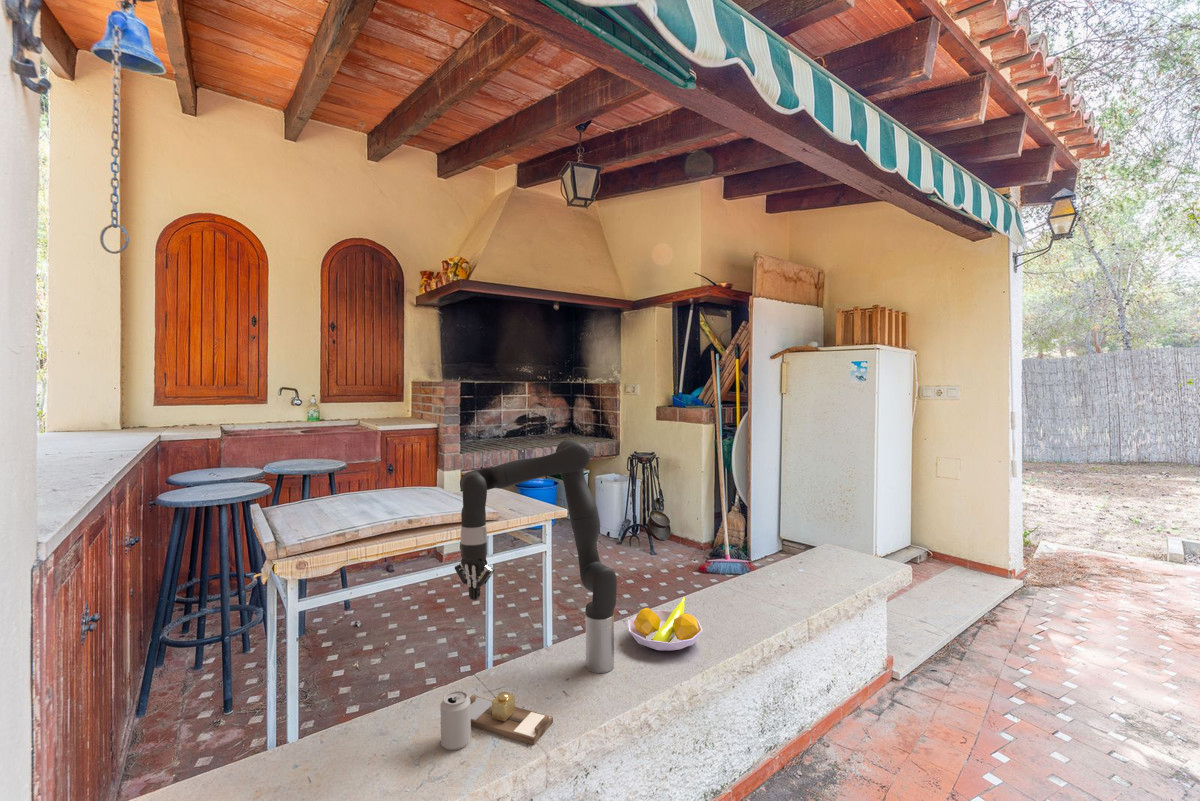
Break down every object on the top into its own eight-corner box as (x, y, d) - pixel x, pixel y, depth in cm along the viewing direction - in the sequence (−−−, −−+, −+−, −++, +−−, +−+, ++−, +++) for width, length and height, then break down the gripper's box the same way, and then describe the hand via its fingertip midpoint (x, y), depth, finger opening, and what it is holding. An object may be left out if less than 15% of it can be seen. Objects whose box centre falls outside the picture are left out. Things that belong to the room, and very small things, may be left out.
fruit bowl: (664, 668, 173) (663, 633, 172) (612, 637, 195) (612, 606, 194) (722, 643, 189) (722, 612, 189) (669, 617, 211) (668, 589, 211)
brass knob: (502, 707, 148) (502, 688, 148) (514, 711, 147) (514, 691, 147) (492, 718, 144) (491, 697, 144) (504, 721, 142) (504, 701, 142)
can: (435, 742, 137) (434, 696, 137) (461, 729, 142) (461, 684, 142) (449, 756, 132) (449, 708, 131) (476, 742, 137) (476, 696, 137)
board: (477, 701, 155) (476, 691, 155) (553, 722, 145) (552, 711, 145) (454, 721, 146) (454, 710, 146) (534, 744, 136) (534, 733, 136)
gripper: (500, 539, 157) (500, 597, 158) (463, 534, 163) (464, 591, 163) (485, 546, 150) (485, 607, 151) (447, 541, 156) (447, 600, 156)
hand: (474, 598), depth 157 cm, fingers closed
